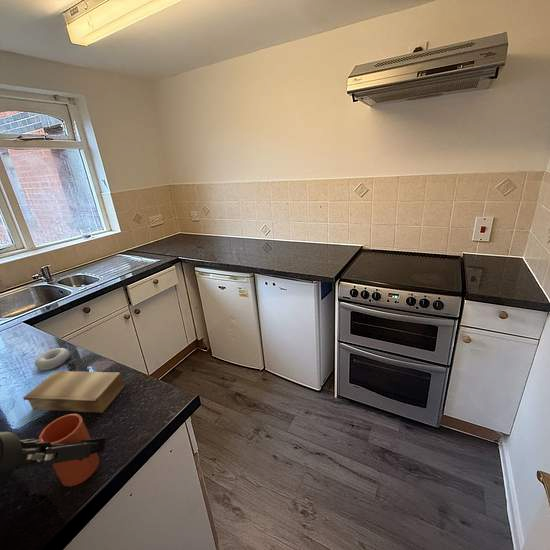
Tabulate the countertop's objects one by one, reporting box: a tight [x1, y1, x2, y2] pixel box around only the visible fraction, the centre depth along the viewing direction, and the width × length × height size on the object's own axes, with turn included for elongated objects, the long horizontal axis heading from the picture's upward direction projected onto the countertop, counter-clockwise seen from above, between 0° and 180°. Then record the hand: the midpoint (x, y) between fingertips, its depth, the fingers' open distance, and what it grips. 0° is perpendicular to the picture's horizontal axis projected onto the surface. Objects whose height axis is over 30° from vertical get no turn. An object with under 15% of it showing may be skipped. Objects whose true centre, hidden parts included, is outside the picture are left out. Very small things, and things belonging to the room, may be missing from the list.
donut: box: [34, 347, 71, 371], centre depth 103 cm, size 10×4×10 cm
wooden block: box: [22, 370, 126, 414], centre depth 85 cm, size 22×11×5 cm, turn 82°
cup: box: [38, 413, 100, 487], centre depth 63 cm, size 7×7×12 cm
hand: (86, 443), depth 67 cm, fingers closed on cup, 7 cm apart
